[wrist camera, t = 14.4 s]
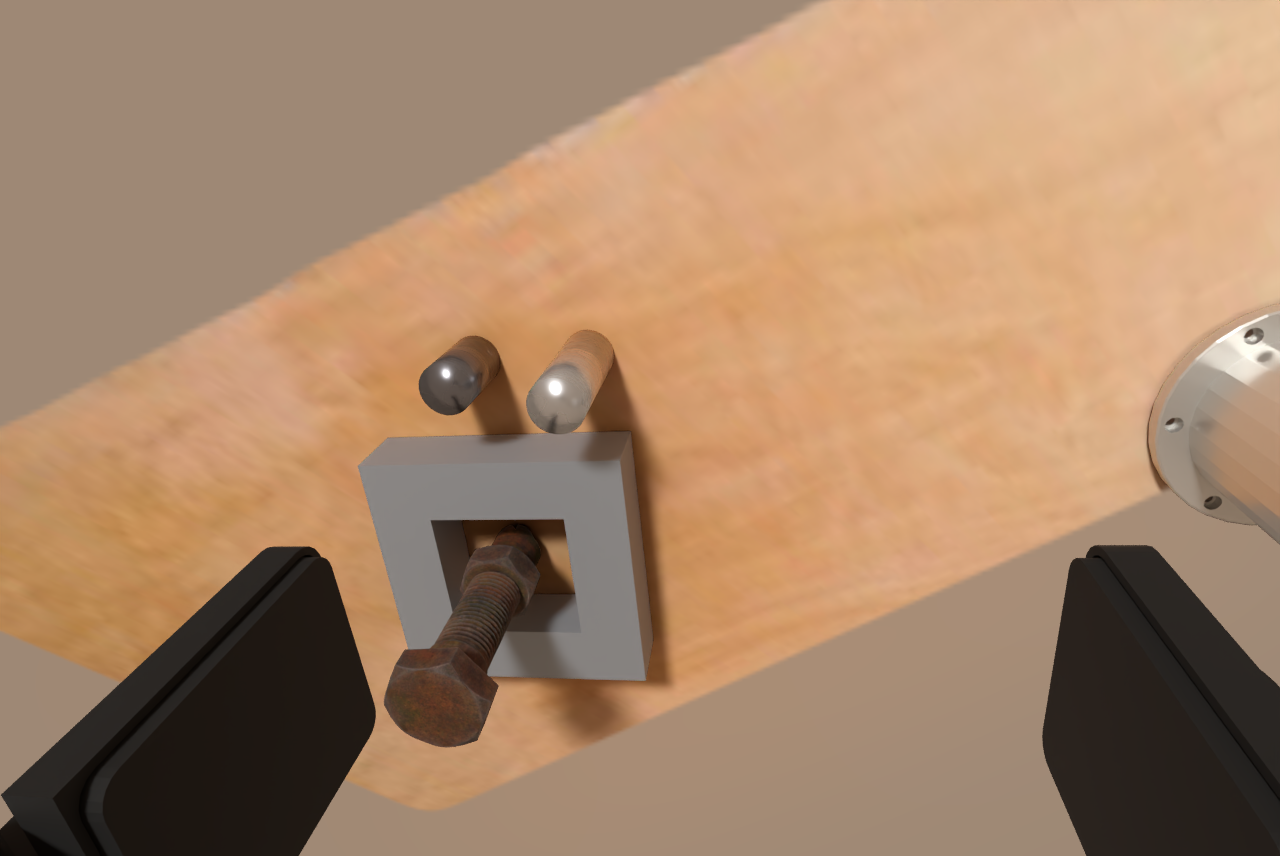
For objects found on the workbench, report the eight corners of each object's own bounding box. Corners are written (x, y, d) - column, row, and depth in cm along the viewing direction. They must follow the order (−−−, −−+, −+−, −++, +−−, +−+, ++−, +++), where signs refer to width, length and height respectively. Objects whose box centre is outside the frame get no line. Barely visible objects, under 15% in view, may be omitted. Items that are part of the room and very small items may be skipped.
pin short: (495, 334, 44) (466, 362, 40) (504, 381, 45) (476, 414, 41) (448, 337, 45) (413, 365, 40) (457, 383, 46) (425, 415, 41)
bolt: (489, 575, 52) (395, 748, 38) (471, 513, 50) (364, 671, 36) (569, 570, 51) (501, 746, 37) (553, 506, 49) (475, 667, 35)
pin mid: (611, 328, 43) (581, 377, 36) (616, 377, 44) (589, 433, 37) (560, 331, 44) (521, 379, 36) (567, 379, 45) (531, 435, 38)
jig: (630, 430, 46) (619, 460, 42) (653, 639, 52) (645, 680, 48) (387, 437, 48) (357, 466, 45) (437, 635, 55) (415, 674, 51)
